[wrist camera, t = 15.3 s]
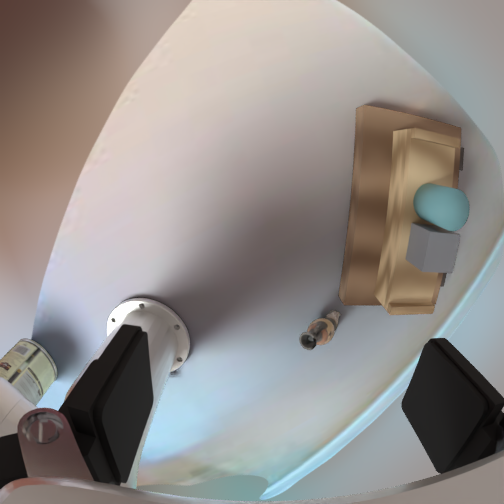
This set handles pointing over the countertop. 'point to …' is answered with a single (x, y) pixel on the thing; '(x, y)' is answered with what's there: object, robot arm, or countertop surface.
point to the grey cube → (432, 248)
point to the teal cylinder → (441, 206)
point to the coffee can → (29, 369)
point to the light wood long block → (411, 218)
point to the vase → (320, 331)
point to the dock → (378, 197)
